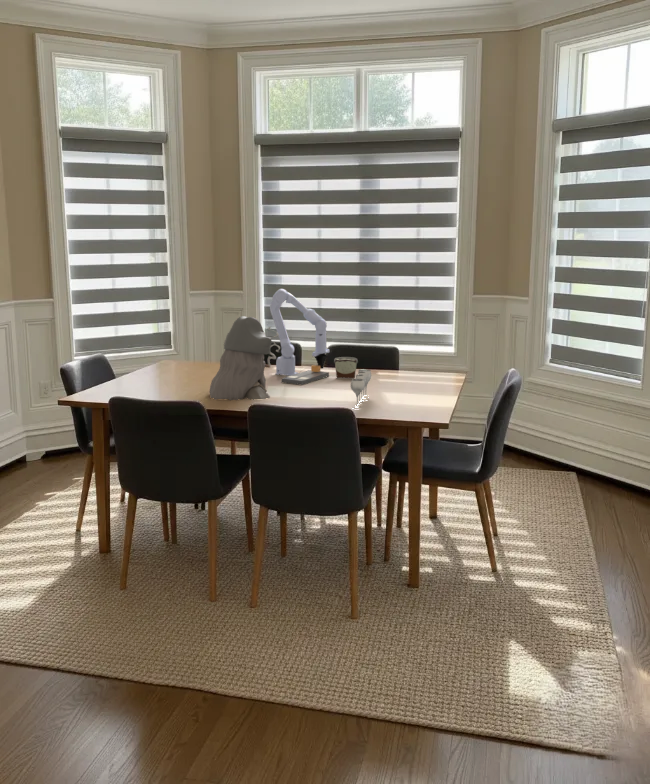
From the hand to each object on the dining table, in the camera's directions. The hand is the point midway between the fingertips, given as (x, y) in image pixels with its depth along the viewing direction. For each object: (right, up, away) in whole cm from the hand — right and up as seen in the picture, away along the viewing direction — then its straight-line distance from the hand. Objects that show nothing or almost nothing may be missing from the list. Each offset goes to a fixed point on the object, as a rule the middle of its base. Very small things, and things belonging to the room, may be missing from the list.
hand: (320, 368), depth 382 cm
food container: (+13, -5, -7) cm, 15 cm away
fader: (-3, -2, -4) cm, 5 cm away
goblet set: (+18, -17, -63) cm, 67 cm away
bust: (-36, -13, -44) cm, 58 cm away
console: (-8, -6, -12) cm, 16 cm away
